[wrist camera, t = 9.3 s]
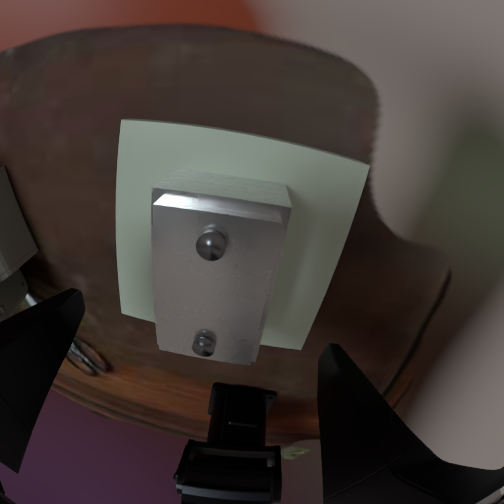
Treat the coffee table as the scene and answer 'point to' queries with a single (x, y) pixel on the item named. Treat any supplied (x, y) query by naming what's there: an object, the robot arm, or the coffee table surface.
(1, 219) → the digital clock
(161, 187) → the block
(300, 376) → the coffee table surface
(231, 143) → the stand
